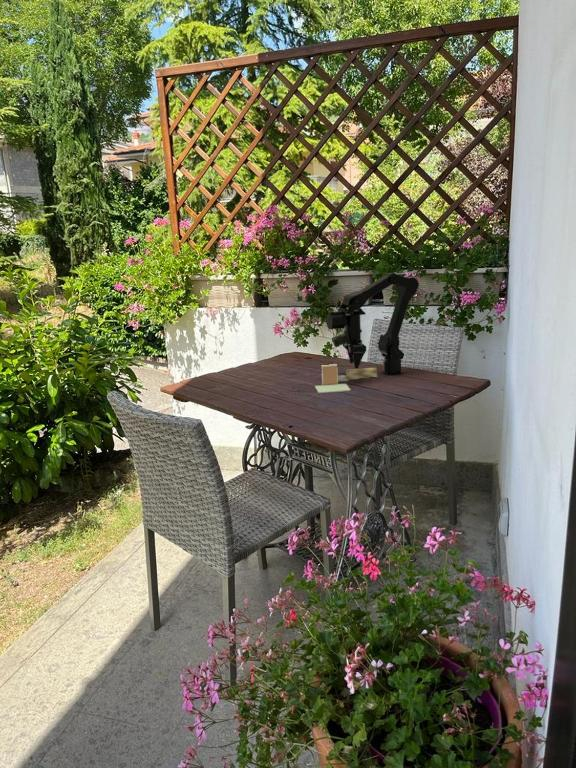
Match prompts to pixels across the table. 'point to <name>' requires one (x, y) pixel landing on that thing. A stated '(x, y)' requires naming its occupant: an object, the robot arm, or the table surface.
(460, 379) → the table surface
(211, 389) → the table surface
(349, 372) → the turner
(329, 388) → the mat
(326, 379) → the tile
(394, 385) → the table surface
